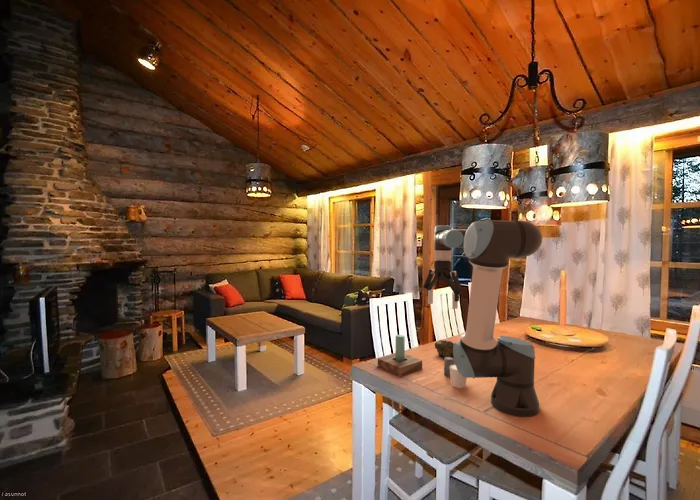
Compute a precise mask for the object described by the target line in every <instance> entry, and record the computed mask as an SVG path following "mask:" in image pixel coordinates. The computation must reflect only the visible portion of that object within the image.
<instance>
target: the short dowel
mask: <svg viewBox="0 0 700 500" xmlns="http://www.w3.org/2000/svg"><path fill="white" fill-rule="evenodd" d="M443 358H444V360H443V361H444V363H443V365H444V366H443V367H444V368H443V370H444V371H443V373H444V374H443V376H444V377H447V378H450V366H451V365H455V361H454V358H451V357H443Z"/></svg>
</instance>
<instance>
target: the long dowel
mask: <svg viewBox="0 0 700 500" xmlns="http://www.w3.org/2000/svg"><path fill="white" fill-rule="evenodd" d="M405 337H406V336H405V335H403V334H396V335H395V353H396V354H395V361H397V362H403V361H404V359H405V354H406V353H405V352H406V350H405V346H406V345H405V341H406V340H405V339H406V338H405Z"/></svg>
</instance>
